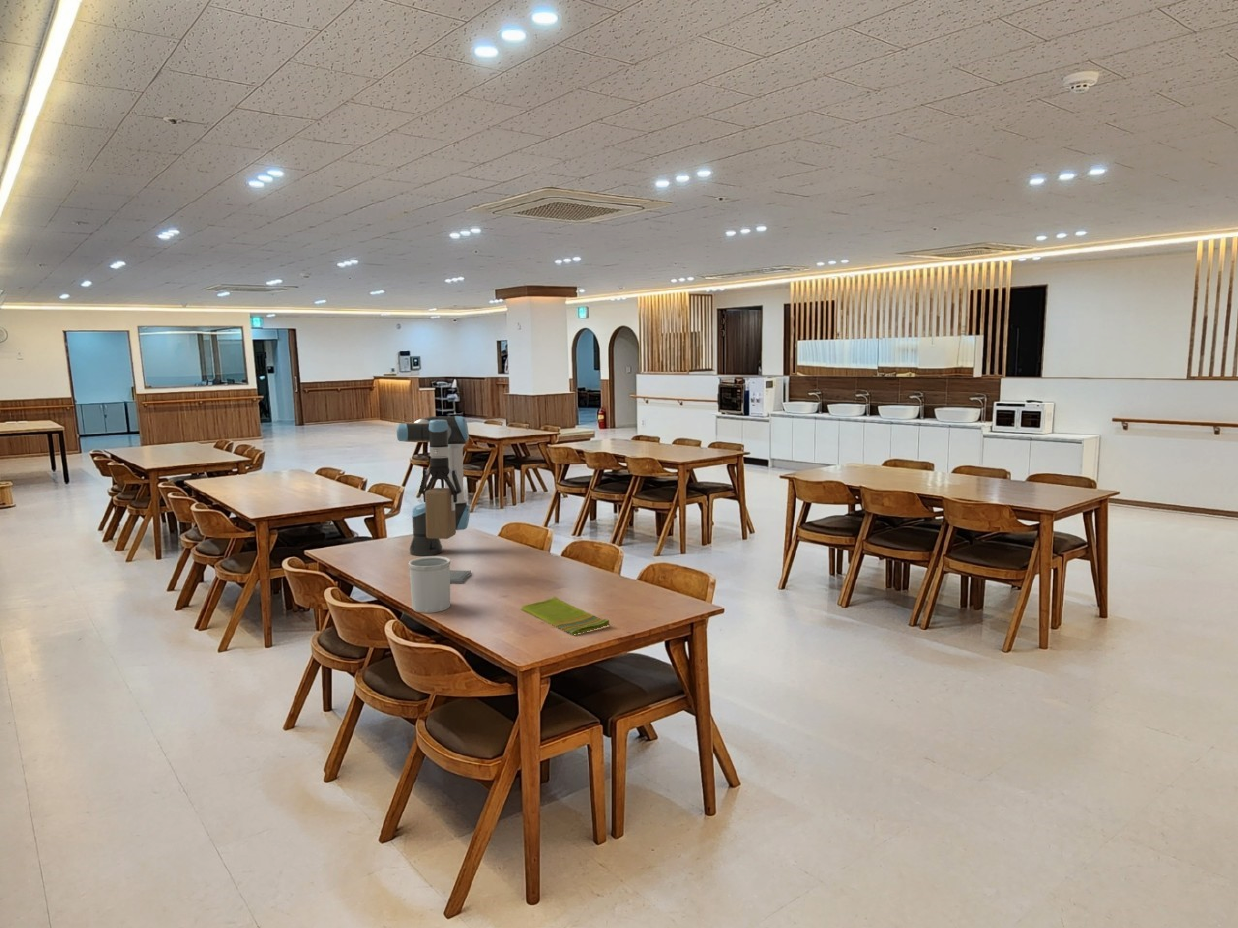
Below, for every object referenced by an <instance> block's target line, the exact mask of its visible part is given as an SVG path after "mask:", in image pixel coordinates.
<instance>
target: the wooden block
mask: <svg viewBox="0 0 1238 928" xmlns="http://www.w3.org/2000/svg"><path fill="white" fill-rule="evenodd" d="M451 495H453V494H452V492H451V490H450V489H449V488H445V487H434V488H430V490H428V491H426V492H425V502H424V504H425V511H426V537H427V538H430V539H440V540H442V539H443V540H448V539H450V538H451V537H453V536H455V535H456V534H457V530H456V518H455V510H454V511H451Z"/></svg>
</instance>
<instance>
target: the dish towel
mask: <svg viewBox="0 0 1238 928" xmlns="http://www.w3.org/2000/svg"><path fill="white" fill-rule="evenodd" d="M520 610H521V611H523V612H525V613H528V614H529V615H532V616H534V617H536V618H537V619H539V620H541V619H542V621H543V620H544V621H543V622H545V621H546V622H545V623H547V622H548V623H547V624H549V625H551V624H552V625H551V626H553V627H555V626H556V627H555V628H557V627H558V628H557V629H558V630H561V629H562V630H561V631H563V630H564V631H563V632H564V633H566V632H568V633H567V634H569V633H570V634H569V635H571V634H572V635H571V636H573V635H574V634H578V633H583V632H587V631H590V630H594V629H597V628H601V627H603V626H607V625H610V620H609V619H602V618H601V617H598V616H596V615H593V614H592V613H589V612H587V611H585V610H583V609H581V608H578V607H575V606H573V605H571V604H569V603H567V602H565V601H563V600H561V599H559V598H558V597H557V596H553V597H552V598H550V599H547V600H542V601H538V602H533V603H529V604H526V605H523V606H522V607H521V608H520ZM610 626H611V625H610ZM574 636H575V635H574Z"/></svg>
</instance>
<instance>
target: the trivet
mask: <svg viewBox="0 0 1238 928" xmlns="http://www.w3.org/2000/svg"><path fill="white" fill-rule="evenodd" d="M471 574H472V570H453V569H451V570H450V584H451V585H452V584H455V585H457V584H459V585H460V584H463V583H464V582H465V580H467V579H468V578H469V576H471Z"/></svg>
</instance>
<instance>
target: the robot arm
mask: <svg viewBox="0 0 1238 928" xmlns="http://www.w3.org/2000/svg"><path fill="white" fill-rule="evenodd" d="M469 435H470V432H469V427H468V423H467V419H466V417H464V416H459V415H452V416H451V415H448V416H447V415H446V416H442V415H440V416H439V415H438V416H437V415H436V416H427V417H423V418H420V419H417V420H416V421H414V422H411V423H398V424H397V426H396V438H397V441H399V442H404V443H405V442H429V457H430V459H429V469H423V470H422V477H421V481H420V482H421V483H420V486H419V488H418V493H419V494H421V495H422V496H423V502H424V503H421V504H417V505H415V506H413V508H412V514H411V518H412V540H411V543H410V546H409V554H411V555H412V556H421V557H427V556H433V555H438V554H441V553H442V552H443V545H442V542H441V539H430V538H427V537H426V511H425V492H426V491H428V490H430V489H432V488H431V487H432V486H433V484H434V482H435V480H436V481H437V480H441V481H442V480H443V481H444V488H449V489H450V490H451V492H452V494H453V495H451V511H454V510H455V518H456V531H464V530H467V528H468V525H469V521H470V516H471V506H470V505H469V504H468V502H467V500H466V499H465V498H464V460H463V459H464V457H463V455H464V452H463V451H464V447H465V446H466V445H467V442H468V441H469V440H470V436H469ZM429 474H430V476H431V477H430V479H429V481H428V483H427V479H428V476H429ZM426 483H427V485H426ZM425 486H426V487H425Z"/></svg>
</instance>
